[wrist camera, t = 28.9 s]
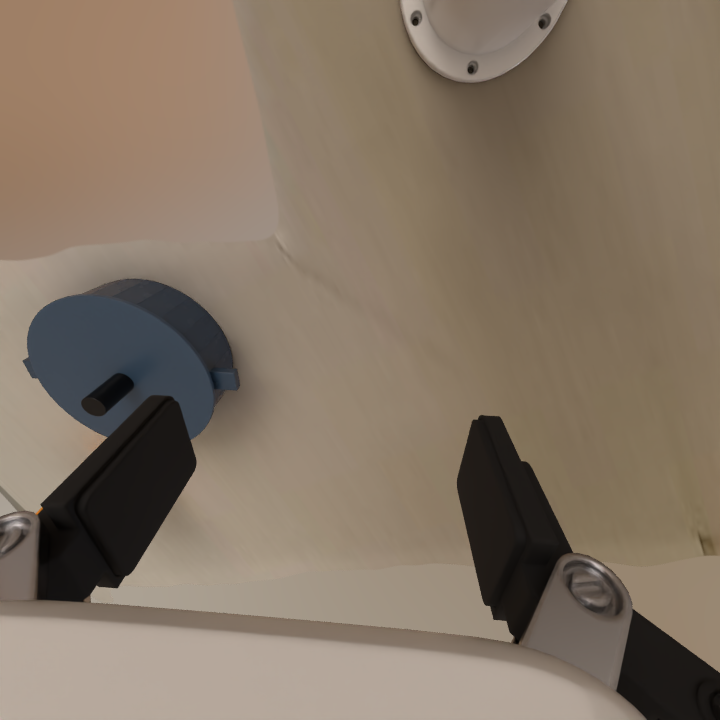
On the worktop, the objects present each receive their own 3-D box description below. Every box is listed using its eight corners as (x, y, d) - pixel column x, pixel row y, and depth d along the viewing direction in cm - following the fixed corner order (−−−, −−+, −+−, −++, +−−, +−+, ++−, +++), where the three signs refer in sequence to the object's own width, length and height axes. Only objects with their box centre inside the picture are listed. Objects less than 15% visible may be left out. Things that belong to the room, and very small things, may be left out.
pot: (34, 273, 39) (-25, 292, 33) (241, 283, 38) (217, 304, 32) (94, 404, 48) (57, 435, 43) (261, 414, 48) (245, 448, 42)
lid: (0, 286, 33) (-65, 307, 29) (197, 296, 33) (165, 320, 28) (79, 436, 44) (41, 470, 39) (230, 446, 43) (211, 482, 38)
